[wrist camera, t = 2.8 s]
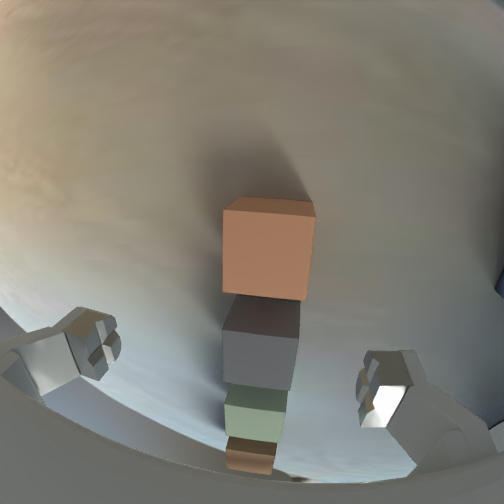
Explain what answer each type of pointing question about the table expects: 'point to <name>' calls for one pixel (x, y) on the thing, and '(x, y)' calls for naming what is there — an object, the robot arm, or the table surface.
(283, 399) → the sage block
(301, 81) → the table surface
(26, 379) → the robot arm
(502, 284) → the small box
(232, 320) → the charcoal block
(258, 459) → the walnut block
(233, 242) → the terracotta block
